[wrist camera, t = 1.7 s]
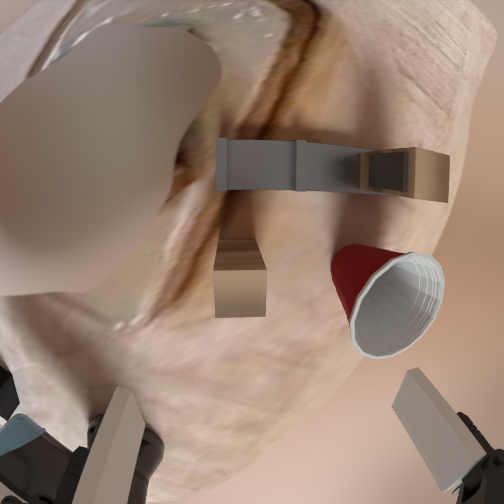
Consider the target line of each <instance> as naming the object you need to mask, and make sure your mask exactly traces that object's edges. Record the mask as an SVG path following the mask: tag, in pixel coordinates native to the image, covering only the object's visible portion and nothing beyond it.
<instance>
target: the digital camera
mask: <svg viewBox="0 0 504 504" xmlns="http://www.w3.org/2000/svg"><path fill="white" fill-rule="evenodd" d="M10 374H11V373H9V372H8V371H7V370H5V369H4V368H3V367H1V366H0V416H1V417H2V418H4V419H5V420H6V421H8V420H9V418H10V417H11V415H12V414H13V412H14V411H15V409H16V408H17V406H18V405H19V403H20V402H19V399H18V395H17V392H16V388H15V384H14V380H13V376H12V374H11V375H10Z"/></svg>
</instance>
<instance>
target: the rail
mask: <svg viewBox="0 0 504 504" xmlns="http://www.w3.org/2000/svg"><path fill="white" fill-rule="evenodd" d="M369 151H378V150H371V149H364V148H357V147H349V146H340V145H331V144H320V143H308V142H307V140H295V141H273V140H227V138H216V191H227V190H293V191H302V192H306V191H324V192H343V193H359V194H372V195H385V196H396V195H392V194H387V193H381V192H375V191H369V190H363V189H359V187H360V152H369Z"/></svg>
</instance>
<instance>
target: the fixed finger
mask: <svg viewBox="0 0 504 504" xmlns="http://www.w3.org/2000/svg"><path fill="white" fill-rule="evenodd" d="M449 171H450V156H449V155H445V154H441V153H437V152H434V151H430V150H425V149H421V148H417V147H412V148H399V149H388V150H378V151H369V152H360V187H359V189H363V190H369V191H375V192H381V193H387V194H392V195H397V196H403V197H408V198H413V199H421V200H429V201H438V202H445V203H448V194H449Z"/></svg>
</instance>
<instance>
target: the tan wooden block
mask: <svg viewBox="0 0 504 504" xmlns="http://www.w3.org/2000/svg"><path fill="white" fill-rule="evenodd" d="M213 277H214V299H215V317H216V318H235V317H266V284H267V269H266V266H265V264H264V261H263V258H262V256H261V253H260V250H259V248H258V245H257V242H256V240H255V239H228V240H218V246H217V251H216V257H215V263H214V269H213Z"/></svg>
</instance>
